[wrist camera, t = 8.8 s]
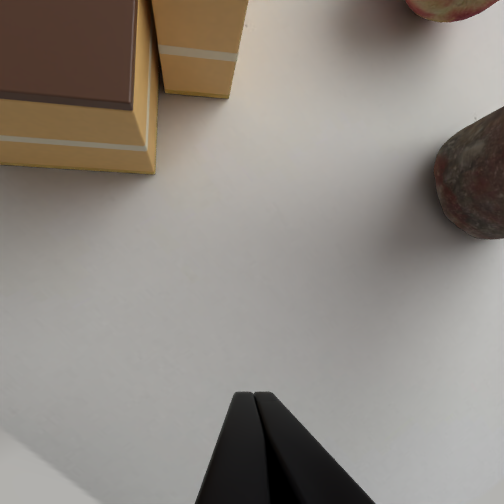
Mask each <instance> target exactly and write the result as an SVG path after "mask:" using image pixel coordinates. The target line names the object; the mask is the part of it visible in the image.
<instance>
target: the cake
mask: <svg viewBox="0 0 504 504" xmlns="http://www.w3.org/2000/svg"><path fill="white" fill-rule="evenodd" d="M159 65H160V55H159V51H158V41H157V34H156V27H155V20H154V13H153V7H152V0H0V165H13V166H29V167H45V168H60V169H76V170H91V171H107V172H123V173H138V174H155V168H156V142H157V117H158V91H159Z"/></svg>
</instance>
